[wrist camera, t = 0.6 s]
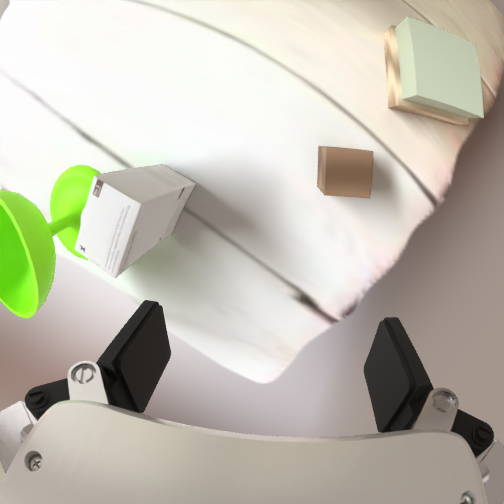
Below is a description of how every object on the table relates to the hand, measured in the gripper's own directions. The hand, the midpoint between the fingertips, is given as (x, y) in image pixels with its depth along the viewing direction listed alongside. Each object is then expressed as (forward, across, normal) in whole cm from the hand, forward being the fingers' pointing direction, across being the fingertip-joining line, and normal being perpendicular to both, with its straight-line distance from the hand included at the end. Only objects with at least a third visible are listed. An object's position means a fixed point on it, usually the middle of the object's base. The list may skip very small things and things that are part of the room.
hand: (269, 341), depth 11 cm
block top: (+21, -18, -20) cm, 35 cm away
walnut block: (+25, -7, -6) cm, 26 cm away
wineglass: (+25, +31, +2) cm, 40 cm away
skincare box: (+25, +15, -1) cm, 29 cm away
